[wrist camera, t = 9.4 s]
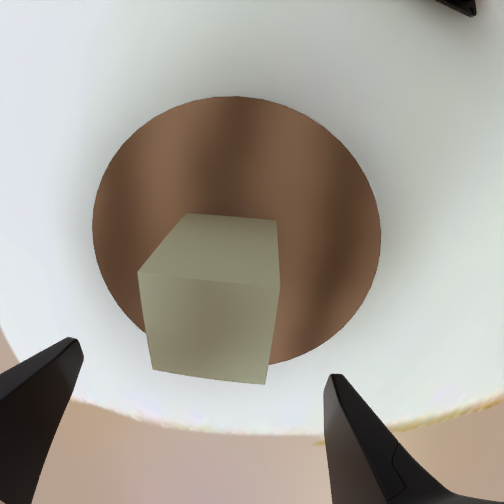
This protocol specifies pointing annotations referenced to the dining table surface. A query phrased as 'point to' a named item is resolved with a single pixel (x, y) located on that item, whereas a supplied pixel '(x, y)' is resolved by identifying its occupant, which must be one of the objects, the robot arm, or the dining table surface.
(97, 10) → the dining table surface
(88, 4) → the dining table surface
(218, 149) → the walnut base
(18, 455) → the robot arm
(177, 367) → the sage block
